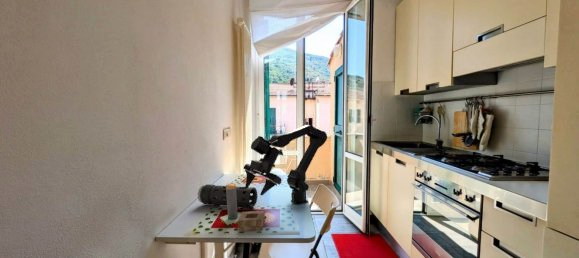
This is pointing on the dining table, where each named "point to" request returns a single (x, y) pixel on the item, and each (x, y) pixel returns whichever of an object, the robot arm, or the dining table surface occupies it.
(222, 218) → the mat
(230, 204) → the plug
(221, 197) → the muzzle brake
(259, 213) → the socket block
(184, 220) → the dining table surface
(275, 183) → the robot arm
